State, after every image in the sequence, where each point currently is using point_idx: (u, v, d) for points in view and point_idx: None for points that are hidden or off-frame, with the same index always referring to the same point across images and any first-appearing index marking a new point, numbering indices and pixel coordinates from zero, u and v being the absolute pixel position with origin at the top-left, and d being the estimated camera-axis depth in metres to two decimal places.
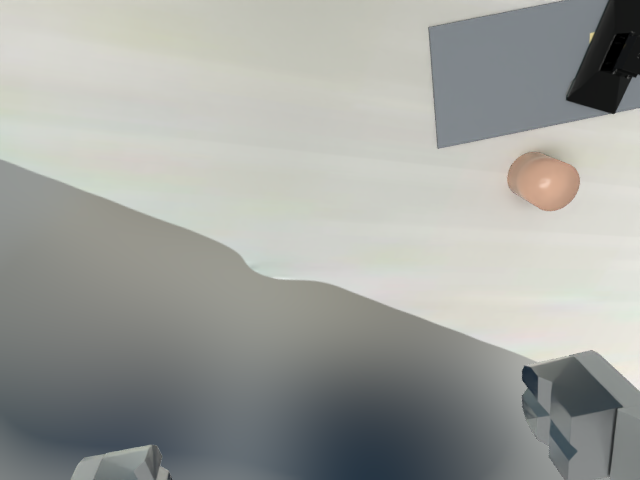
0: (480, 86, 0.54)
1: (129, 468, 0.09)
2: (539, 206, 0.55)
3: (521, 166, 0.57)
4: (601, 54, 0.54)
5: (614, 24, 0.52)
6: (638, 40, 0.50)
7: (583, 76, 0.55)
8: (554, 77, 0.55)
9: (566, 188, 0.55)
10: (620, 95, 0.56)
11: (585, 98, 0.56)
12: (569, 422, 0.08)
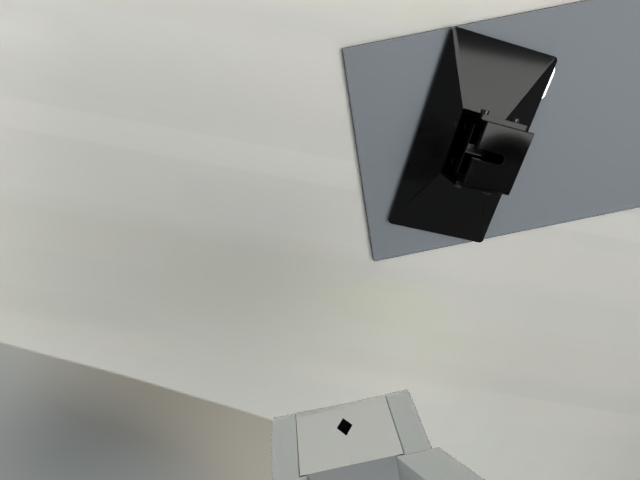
0: None
1: (330, 425, 0.09)
2: None
3: None
4: None
5: (482, 196, 0.30)
6: (507, 187, 0.26)
7: (529, 107, 0.28)
8: (575, 101, 0.29)
9: None
10: (448, 69, 0.27)
11: (522, 62, 0.27)
12: (354, 468, 0.08)
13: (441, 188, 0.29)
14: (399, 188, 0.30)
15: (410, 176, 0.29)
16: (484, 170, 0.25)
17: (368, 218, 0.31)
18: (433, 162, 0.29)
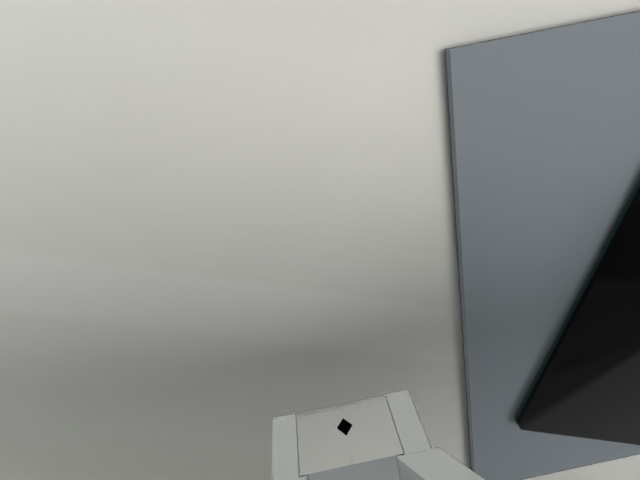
0: None
1: (330, 425, 0.09)
2: None
3: None
4: None
5: None
6: None
7: None
8: None
9: None
10: None
11: None
12: (354, 468, 0.08)
13: None
14: (550, 364, 0.13)
15: (580, 342, 0.13)
16: None
17: (472, 416, 0.14)
18: None
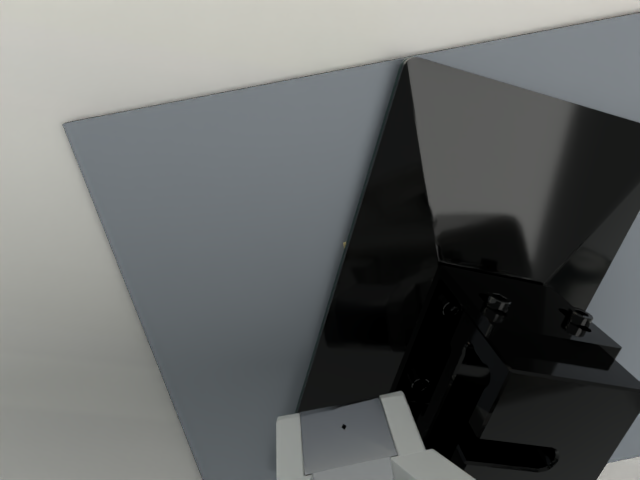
0: None
1: (334, 424, 0.09)
2: None
3: None
4: None
5: None
6: None
7: (600, 249, 0.12)
8: None
9: None
10: (400, 167, 0.10)
11: (590, 148, 0.11)
12: (348, 470, 0.08)
13: None
14: None
15: (318, 399, 0.12)
16: None
17: (203, 472, 0.14)
18: (370, 375, 0.12)
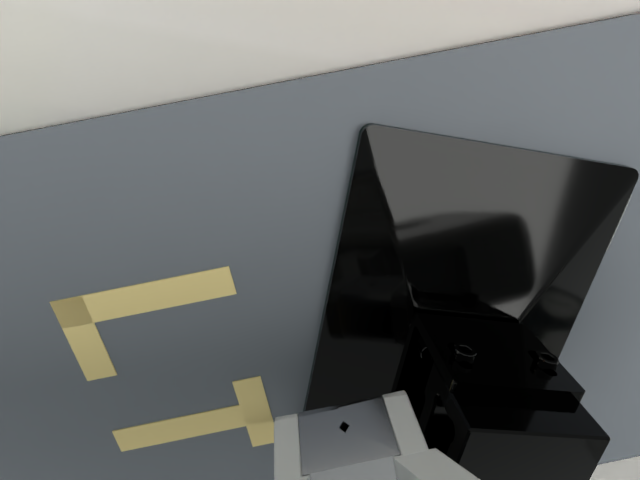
0: None
1: (332, 425, 0.09)
2: None
3: None
4: None
5: None
6: None
7: (573, 282, 0.12)
8: None
9: None
10: (368, 225, 0.11)
11: (552, 190, 0.11)
12: (351, 469, 0.08)
13: None
14: None
15: None
16: None
17: None
18: None
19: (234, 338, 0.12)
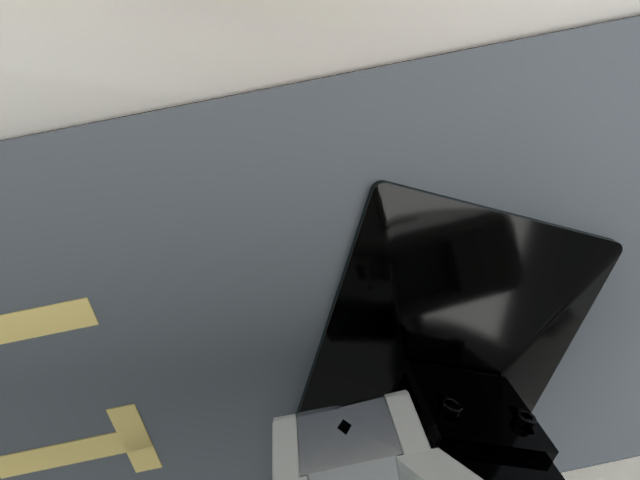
0: None
1: (331, 425, 0.09)
2: None
3: None
4: None
5: None
6: None
7: (554, 341, 0.13)
8: (267, 321, 0.12)
9: None
10: (370, 273, 0.11)
11: (543, 257, 0.12)
12: (354, 468, 0.08)
13: None
14: None
15: None
16: None
17: None
18: None
19: (102, 367, 0.12)
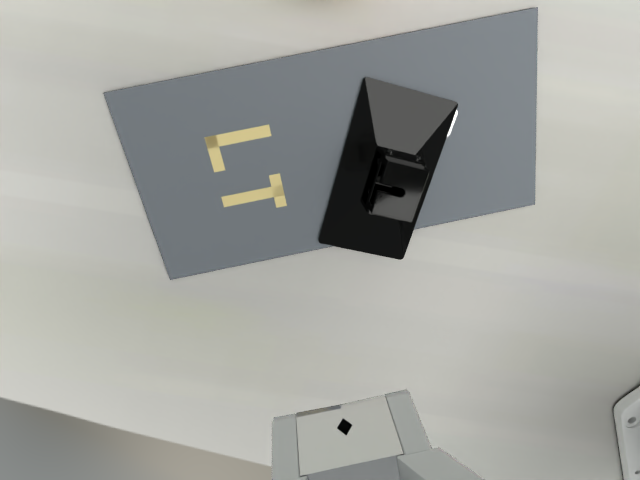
0: (458, 122, 0.32)
1: (330, 425, 0.09)
2: None
3: None
4: None
5: (399, 220, 0.34)
6: (409, 215, 0.30)
7: (435, 144, 0.32)
8: (332, 137, 0.32)
9: None
10: (362, 112, 0.31)
11: (427, 106, 0.31)
12: (354, 468, 0.08)
13: (362, 213, 0.34)
14: (326, 213, 0.34)
15: (335, 202, 0.33)
16: (388, 201, 0.29)
17: (157, 241, 0.34)
18: (354, 191, 0.33)
19: (270, 155, 0.32)
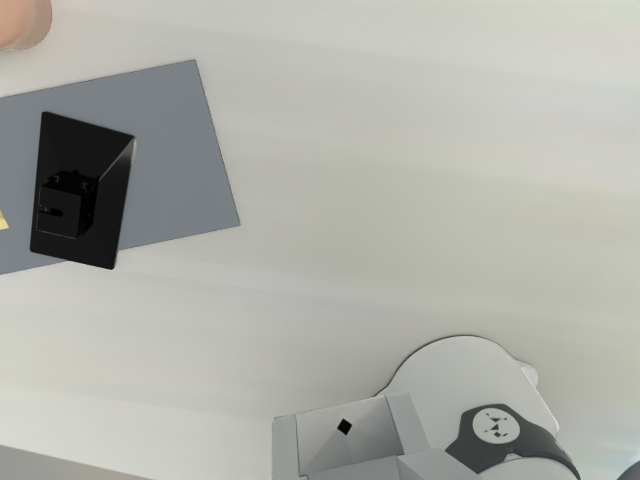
0: (149, 156, 0.37)
1: (330, 425, 0.09)
2: None
3: (35, 28, 0.32)
4: (103, 199, 0.38)
5: (99, 235, 0.39)
6: (72, 233, 0.35)
7: (119, 171, 0.37)
8: (36, 169, 0.37)
9: None
10: (45, 141, 0.36)
11: (105, 139, 0.36)
12: (354, 468, 0.08)
13: None
14: (32, 226, 0.39)
15: (37, 217, 0.38)
16: (49, 220, 0.34)
17: None
18: None
19: None
